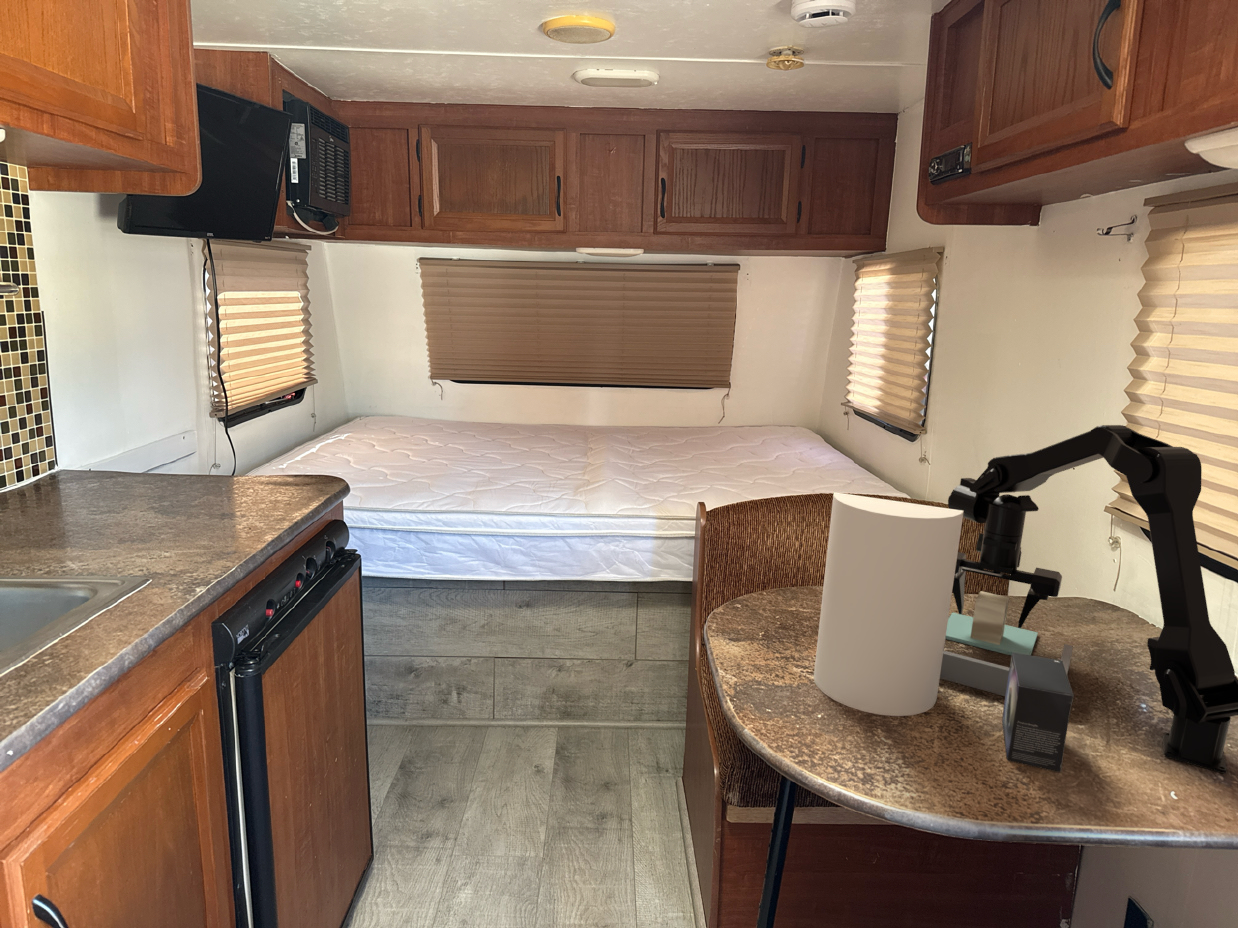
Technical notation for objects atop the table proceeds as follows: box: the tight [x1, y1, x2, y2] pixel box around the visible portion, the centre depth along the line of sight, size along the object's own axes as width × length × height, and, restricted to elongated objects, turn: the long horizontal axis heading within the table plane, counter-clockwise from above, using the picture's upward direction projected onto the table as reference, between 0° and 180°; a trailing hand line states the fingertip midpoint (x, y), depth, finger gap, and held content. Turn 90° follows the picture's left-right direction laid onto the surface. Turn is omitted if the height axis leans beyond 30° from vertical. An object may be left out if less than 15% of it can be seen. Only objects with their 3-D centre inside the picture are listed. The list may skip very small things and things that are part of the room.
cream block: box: [970, 590, 1010, 645], centre depth 135 cm, size 4×4×7 cm
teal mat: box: [945, 611, 1039, 657], centre depth 138 cm, size 12×14×1 cm
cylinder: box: [813, 491, 964, 717], centre depth 115 cm, size 17×17×28 cm
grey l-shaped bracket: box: [940, 643, 1074, 697], centre depth 126 cm, size 16×25×4 cm, turn 57°
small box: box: [1001, 653, 1075, 773], centre depth 103 cm, size 11×6×10 cm, turn 159°
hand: (989, 620), depth 136 cm, fingers open, 9 cm apart
